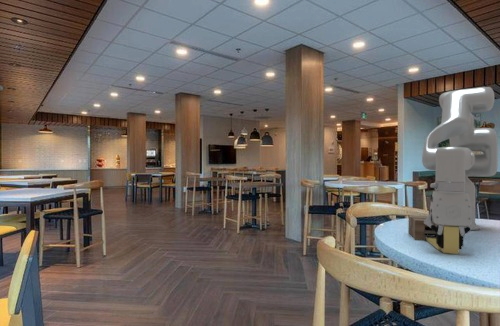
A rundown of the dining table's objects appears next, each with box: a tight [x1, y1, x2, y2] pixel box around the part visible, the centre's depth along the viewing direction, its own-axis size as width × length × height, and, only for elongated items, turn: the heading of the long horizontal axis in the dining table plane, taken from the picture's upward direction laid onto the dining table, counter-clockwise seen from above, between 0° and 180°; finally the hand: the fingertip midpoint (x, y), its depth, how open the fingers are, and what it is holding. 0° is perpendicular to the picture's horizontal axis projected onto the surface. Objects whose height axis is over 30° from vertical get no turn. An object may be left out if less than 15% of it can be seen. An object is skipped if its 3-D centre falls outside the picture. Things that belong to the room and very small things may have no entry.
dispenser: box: [408, 215, 436, 241], centre depth 112 cm, size 11×12×7 cm
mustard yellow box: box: [425, 226, 460, 255], centre depth 100 cm, size 17×5×8 cm, turn 165°
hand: (449, 247), depth 93 cm, fingers closed on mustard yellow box, 4 cm apart
